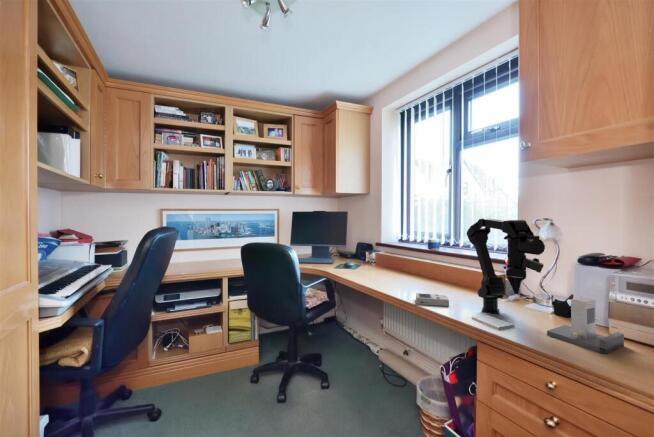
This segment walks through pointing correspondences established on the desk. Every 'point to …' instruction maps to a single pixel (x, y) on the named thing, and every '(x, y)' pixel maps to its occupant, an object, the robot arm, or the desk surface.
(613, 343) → the drive dock
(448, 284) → the desk surface
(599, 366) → the desk surface
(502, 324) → the hard drive
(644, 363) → the desk surface
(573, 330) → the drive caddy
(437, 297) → the handheld gaming device
